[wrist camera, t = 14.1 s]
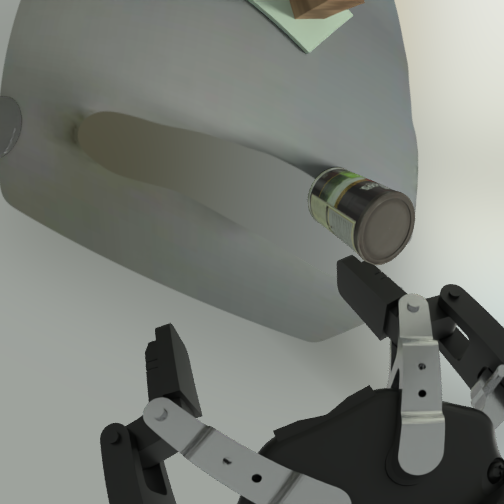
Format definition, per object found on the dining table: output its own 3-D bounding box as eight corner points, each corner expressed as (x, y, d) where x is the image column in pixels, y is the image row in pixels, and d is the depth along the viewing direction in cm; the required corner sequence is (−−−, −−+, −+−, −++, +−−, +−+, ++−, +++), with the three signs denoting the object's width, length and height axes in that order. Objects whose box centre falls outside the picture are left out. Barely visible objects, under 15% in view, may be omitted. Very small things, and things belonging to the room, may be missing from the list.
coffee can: (316, 160, 41) (374, 183, 30) (365, 174, 45) (424, 200, 33) (299, 221, 46) (346, 263, 34) (348, 229, 49) (398, 267, 37)
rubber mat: (247, 0, 27) (249, -2, 26) (298, -34, 25) (301, -36, 24) (306, 53, 33) (309, 52, 32) (350, 16, 31) (353, 15, 30)
